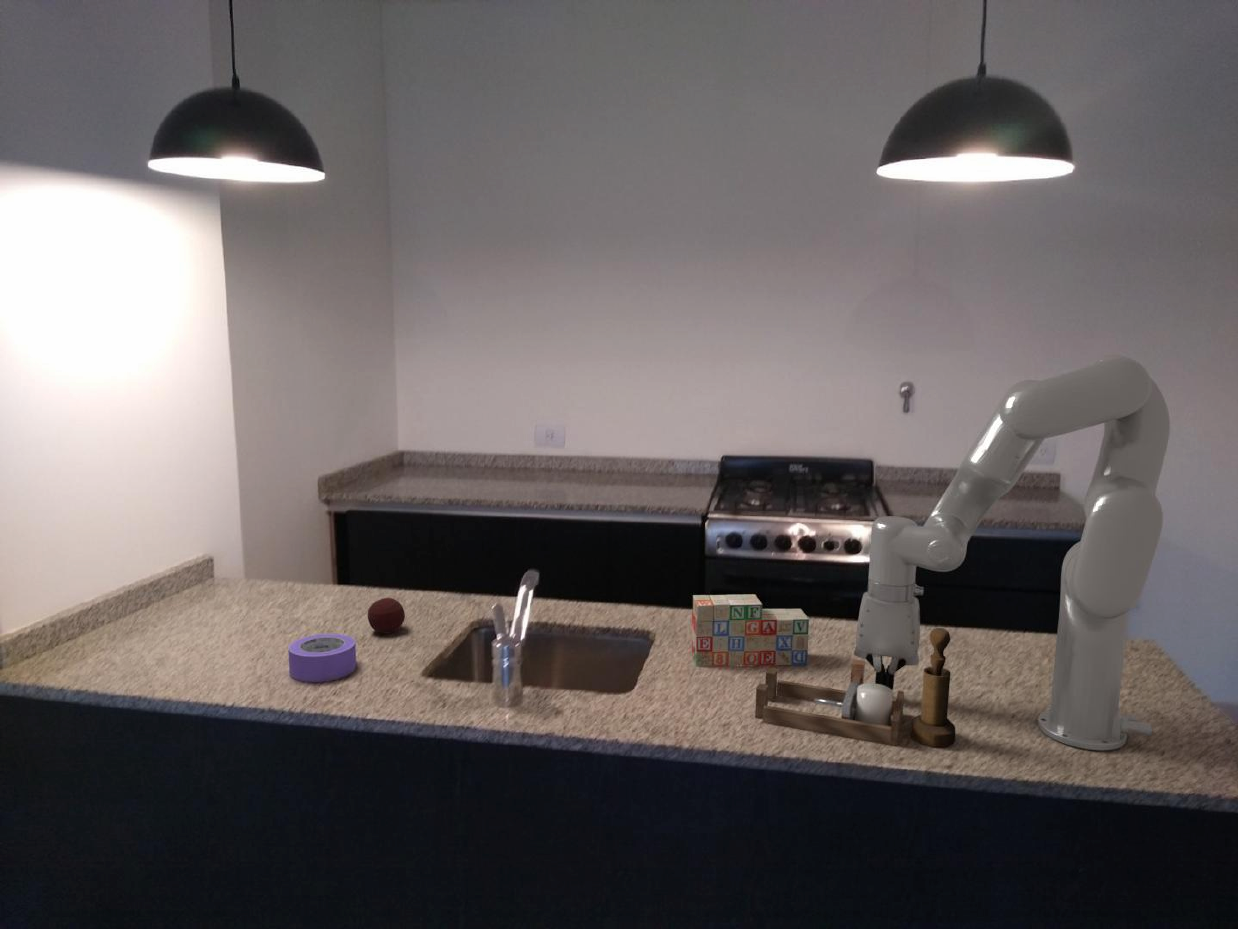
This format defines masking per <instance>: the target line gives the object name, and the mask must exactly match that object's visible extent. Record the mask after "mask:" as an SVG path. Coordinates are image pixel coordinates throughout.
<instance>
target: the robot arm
mask: <svg viewBox="0 0 1238 929" xmlns="http://www.w3.org/2000/svg"><path fill="white" fill-rule="evenodd" d="M1170 421H1171V420H1170V413H1169V408H1168V405H1167V402H1166V399H1165V397H1164V395H1163V393H1162V391H1161V390H1160V388H1159V386H1158V384H1157V383H1156V382H1155V381H1154V380H1153V378H1152V377H1151V376H1150V374H1149V371H1147V369H1146V368H1145V367H1144V366H1143V365H1142V364H1141V363H1140V362H1137V361H1136V360H1134V359H1132V358H1130V357H1128V356H1125V355H1121V354H1117V353H1116V354H1115V353H1114V354H1110V353H1109V354H1104V355H1101V356H1098V357H1096V358H1094V359H1093V360H1091V361H1090V362H1089V363H1088V364H1087V365H1086V366H1084V367H1083V368H1082V367H1081V368H1079V369H1075V370H1073V371H1069V372H1067V373H1066V372H1065V373H1062V374H1060V375H1057V376H1053V377H1049V378H1046V379H1045V378H1044V379H1041V380H1036V379H1025V380H1022V381H1018V382H1016V383H1015V384H1013V385H1012V386H1011V387H1010V388H1008V390H1007V391H1006V392H1005V394H1004V395H1003V397H1002V398H1001V400H1000V401H999V403H998V405H997V406H996V407H995V409H994V411H993V413H992V414H991V416H990V417H989V419H988V421H987V422H986V423H985V425H984V427H983V428H982V430H981V431H980V433H979V434H978V436H977V438H976V440H975V441H974V443H973V445H972V446H971V447H970V449H969V450H968V452H967V453H966V455H965V456H964V458H963V460H962V461H961V464H960V465H959V468H958V469H957V471H956V474H955V475H954V477H953V478H952V480H951V482H950V483H949V485H948V486H947V488H946V490H945V491H944V493H943V494H942V496H941V498H940V499H939V501H938V502H937V504H936V505H935V507H934V508H933V510H932V511H931V513H930V515H929V517H928V518H927V520H926V521H925V523H924V525H923V526H921V525H920V526H919V525H918V524H917V522H915V521H914V520H912V519H910V518H907V517H902V516H895V515H893V516H890V515H888V516H880V517H878V518H876V519H875V520H874V521H873V522H872V525H871V531H870V532H871V534H870V546H869V547H870V550H869V566H868V567H869V568H868V579H867V580H868V582H867V591H865V592H863V594H862V598H861V603H860V607H859V613H858V614H859V615H858V620H857V626H856V628H857V629H856V639H855V640H856V643H855V645H856V646H855V647H854V648H855V649H854V651H853V655H854V656H855V657H858V658H860V659H863V660H866V661H867V662H868V663H869V664H870V665H871V667H872V668H873V671H874V672H875V682H874V684H880V685H884V686H886V687H888V688H890V689H891V690H892V691H893V690H894V686H895V674H896V673H897V672H898V671H900V670H901V669H902V668H904V667H905V666H919V663H920V656H919V651H918V650H919V646H920V638H921V637H920V635H921V631H920V630H921V614H920V613H921V612H920V610H921V609H920V603H919V599H918V598H917V597H916V596H923V595H924V589H925V588H924V587H923V586H919V585H917V583H916V572H917V567H919V568H923V569H926V570H930V571H934V572H940V573H941V572H942V573H944V572H946V573H947V572H951V571H953V570H956V569H957V568H958V567H960V566H961V565H962V563H963V562H964V561H965V558H966V554H967V547H968V542H969V541H970V540H971V537H972V535H973V534H974V533H975V531H976V530H977V528H978V526H979V525H980V523H981V522H982V520H983V519H984V518H985V516H986V514H988V511H989V510H990V509H991V507H993V505H994V504H995V503H996V502H997V500H999V499H1000V498H1001V497H1002V496H1004V495H1005V494H1007V493H1009V492H1010V491H1011V490H1012V488H1013V487H1015V485H1016V484H1017V483H1018V480H1019V479H1020V477H1021V476H1022V474H1023V473H1024V471H1025V470H1026V468H1027V466H1028V464H1029V463H1030V462H1031V460H1032V459H1033V458H1034V456H1035V454H1036V452H1037V451H1038V450H1039V448H1040V447H1041V445H1042V444H1043V443H1044V440H1046V439H1051V438H1055V437H1057V436H1062V435H1065V434H1069V433H1074V432H1076V431H1077V432H1078V431H1080V430H1083V429H1086V428H1091V427H1094V426H1097V425H1102V424H1104V429H1103V430H1104V431H1103V437H1102V441H1101V444H1100V449H1099V455H1098V458H1097V461H1096V465H1095V467H1094V471H1093V473H1092V474H1093V475H1092V477H1091V481H1090V483H1089V486H1088V489H1087V491H1086V493H1085V496H1084V502H1083V510H1084V514H1085V517H1086V520H1085V524H1084V527H1083V530H1082V531H1083V532H1082V533H1081V534H1082V535H1081V538H1080V541H1078V542H1076V543H1075V544H1074V545H1073V546H1071V548H1070V549H1069V550H1068V551H1067V552H1066V555H1065V556H1064V558H1063V562H1062V565H1061V573H1060V574H1061V575H1060V599H1059V600H1060V601H1059V611H1058V612H1059V614H1058V624H1057V633H1056V634H1057V635H1056V644H1055V654H1054V665H1053V674H1052V685H1051V686H1052V687H1051V693H1050V694H1051V696H1050V706H1049V710H1044V711H1043V712H1041V713H1040V714H1039V715H1038V717H1037V718H1038V719H1037V725H1038V727H1039V729H1040V731H1041V732H1042V733H1043V734H1045V735H1046V736H1047V737H1049V738H1051V739H1053V740H1055V741H1057V742H1060V743H1061V744H1064V745H1067V746H1071V747H1075V748H1078V749H1084V750H1091V751H1110V750H1111V751H1112V750H1117V749H1120V748H1122V747H1123V746H1125V744H1126V743H1127V737H1128V735H1127V734H1128V733H1133V734H1134V733H1135V734H1136V735H1143V736H1149V737H1150V736H1151V735H1152V730H1153V729H1152V727H1153V726H1152V723H1151V722H1144V721H1140V719H1141V718H1140V716H1136V715H1135V716H1133V715H1126V714H1123V712H1121V710H1120V708H1119V704H1120V695H1121V688H1122V687H1121V686H1122V685H1121V684H1122V676H1123V666H1124V659H1125V650H1126V646H1127V645H1126V644H1127V636H1128V634H1127V633H1128V627H1129V626H1128V624H1129V623H1128V622H1129V612H1130V611H1131V610H1133V608H1134V607H1135V606H1136V605H1137V604H1138V603H1139V600H1140V598H1141V596H1142V594H1143V591H1144V589H1145V586H1146V583H1147V579H1148V577H1149V573H1150V570H1151V567H1152V564H1153V561H1154V558H1155V554H1156V551H1157V548H1158V544H1159V542H1160V539H1161V534H1162V529H1163V523H1164V522H1163V520H1164V513H1163V508H1162V505H1161V503H1160V500H1159V499H1158V497H1157V496H1156V493H1157V492H1156V491H1157V488H1158V484H1159V480H1160V476H1161V474H1162V469H1163V465H1164V460H1165V456H1166V453H1167V449H1168V445H1169V439H1170V431H1171V430H1170V429H1171V422H1170ZM883 657H888V658H891V659H890V661H889V664H888V665H887V667H886V666H885V664H884V663H883V662H884V660H883Z"/></svg>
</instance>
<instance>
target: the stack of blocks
mask: <svg viewBox="0 0 1238 929" xmlns="http://www.w3.org/2000/svg"><path fill="white" fill-rule="evenodd" d="M809 621H810V618H809V617H808V616H807V615H806V614H805V613H804V611H803V610H802V608H763V603H762V601H760V599H759V598H758V597H757V595H756V594H753V593H752V594H749V593H748V594H715V595H714V594H707V595H706V594H698V595H697V594H695V595H694V594H693V595H692V610H691V625H692V627H691V628H692V629H691V632H692V633H691V636H692V638H691V639H692V641H691V656H692V659H693V661H694V664H695V667H745V666H744V665H759V666H760V665H769V666H807V665H808V655H809V654H808V653H809V652H808V651H809V632H810V631H809V630H810V629H809V628H810V626H809V625H810V622H809ZM737 665H738V666H737ZM740 665H742V666H740Z"/></svg>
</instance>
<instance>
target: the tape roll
mask: <svg viewBox="0 0 1238 929" xmlns="http://www.w3.org/2000/svg"><path fill="white" fill-rule="evenodd" d="M356 648H357V646H356V640H355V638H353V637H352V636H349V635H346V634H340V633H320V634H315V635H308V636H305V637H302V638H299V639H297V640H294V641H293V642H291V643H290V644H289V645H288V648H287V649H288V666H289V667H288V670H289V676H290V677H291V678H292V679H294V680H297V681H301V682H304V683H305V682H306V683H323V682H330V681H333V680H338V679H342V678H344V677H346V676H349V675H351V674H352V673H353V672H354V671H355V670H356V668H357V651H356Z"/></svg>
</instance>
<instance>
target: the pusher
mask: <svg viewBox="0 0 1238 929" xmlns="http://www.w3.org/2000/svg"><path fill="white" fill-rule="evenodd" d="M865 664H866V661H865V660H861V659H852V660H851V667H850V669H851V670H850V682H849V684H848V686H847V690H846V691H847V692H846V695H845V698H844V701H843V703H842V702H836V701H829V700H823V699H817V698H815V699H814V702H813V703H814V704H817V705H818V704H819V705H825V706H829V707H836V708H841V717H840V718H842V719H848V720H853V718H854V715H855V713H856V696H857V688H858V686H859V685H862V684H865V683H864V682H865Z"/></svg>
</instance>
